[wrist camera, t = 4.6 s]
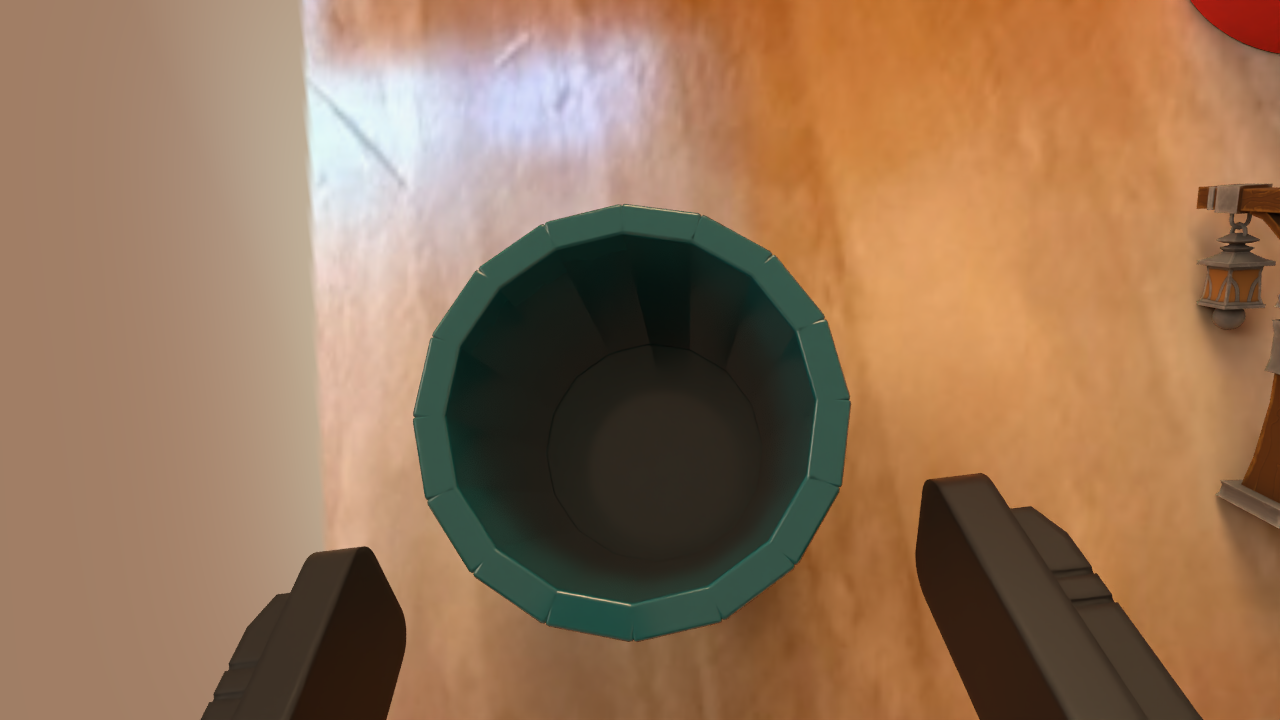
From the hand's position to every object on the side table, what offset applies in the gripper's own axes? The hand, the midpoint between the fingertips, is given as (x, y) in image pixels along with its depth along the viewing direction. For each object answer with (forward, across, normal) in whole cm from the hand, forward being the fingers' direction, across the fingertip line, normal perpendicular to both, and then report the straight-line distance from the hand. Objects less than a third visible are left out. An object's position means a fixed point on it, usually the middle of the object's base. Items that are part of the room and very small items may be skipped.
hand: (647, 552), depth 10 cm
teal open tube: (+7, 0, +4) cm, 8 cm away
